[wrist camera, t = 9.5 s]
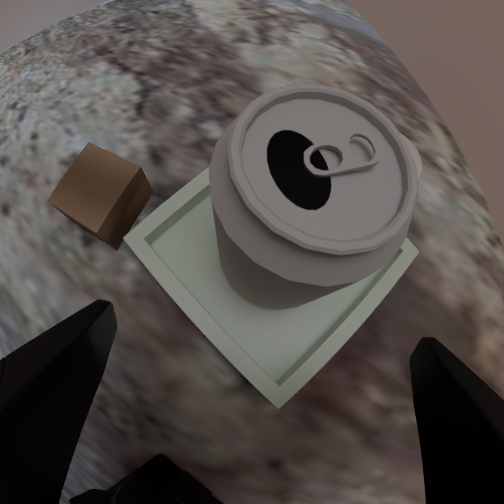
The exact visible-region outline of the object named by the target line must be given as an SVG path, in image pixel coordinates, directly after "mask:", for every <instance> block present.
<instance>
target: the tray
mask: <svg viewBox="0 0 504 504" xmlns="http://www.w3.org/2000/svg"><path fill="white" fill-rule="evenodd" d="M208 171H209V167H208V168H207V169H206V170H204V171H203V172H202V173H200V174H199V175H198V176H197V177H195V178H194V179H193V180H191V181H190V182H189V183H188V184H186V185H185V186H184V187H183V188H181V189H180V190H179V191H178V192H176V193H175V194H174V195H173V196H171V197H170V198H169V199H168V200H167V201H165V202H164V203H163V204H162V205H160V206H159V207H158V208H157V209H156V210H155V211H153V212H152V213H151V214H150V215H149V216H147V217H146V218H145V219H144V220H143V221H142V222H140V223H139V224H138V225H137V226H136V227H135V228H134V229H132V230H131V231H130V232H129V233H128V234H127V235H126V236H124V237H123V239H124V240H125V241H126V243H127V244H128V245H129V246H130V248H131V249H132V250H133V252H134V253H135V254H136V255H137V257H138V258H139V259H140V260H141V262H142V263H143V264H144V265H145V267H146V268H147V269H148V270H149V271H150V273H151V274H152V275H153V276H154V278H155V279H156V280H157V281H158V282H159V284H160V285H161V286H162V287H163V288H164V290H165V291H166V292H167V293H168V294H169V295H170V297H171V298H172V299H173V300H174V301H175V302H176V304H177V305H178V306H179V307H180V308H181V309H182V310H183V312H184V313H185V314H186V315H187V316H188V317H189V318H190V319H191V321H192V322H193V323H194V324H195V325H196V326H197V327H198V328H199V329H200V331H201V332H202V333H203V334H204V335H205V336H206V337H207V338H208V339H209V340H210V341H211V342H212V344H213V345H214V346H215V347H216V348H217V349H218V350H219V351H220V352H221V353H222V354H223V355H224V356H225V357H226V358H227V359H228V360H229V361H230V362H231V363H232V364H233V366H234V367H235V368H236V369H237V370H238V371H239V372H240V373H241V374H242V375H243V376H244V377H245V378H246V379H247V380H248V381H249V382H250V383H251V384H252V385H253V386H254V387H255V388H256V389H258V390H259V391H260V392H261V393H262V394H263V395H264V396H265V397H266V398H267V399H268V400H269V401H270V402H271V403H272V404H273V405H274V406H275V407H276V408H277V409H280V408H281V407H282V406H283V405H284V404H285V403H286V402H287V401H288V400H289V399H290V398H291V397H293V396H294V395H295V394H296V393H297V392H298V391H299V390H300V389H301V388H302V387H303V386H304V385H305V384H306V383H307V382H308V381H309V380H310V379H311V378H312V377H313V376H314V375H315V374H316V373H317V372H318V371H319V370H320V369H321V368H322V367H323V366H324V365H325V364H326V363H327V362H328V361H329V360H330V359H331V358H332V357H333V356H334V355H335V353H336V352H337V351H338V350H339V349H340V348H341V347H342V346H343V345H344V344H345V343H346V342H347V340H348V339H349V338H350V337H351V336H352V335H353V334H354V333H355V332H356V330H357V329H358V328H359V327H360V326H361V325H362V324H363V322H364V321H365V320H366V319H367V318H368V317H369V315H370V314H371V313H372V312H373V311H374V309H375V308H376V307H377V306H378V305H379V303H380V302H381V301H382V300H383V299H384V297H385V296H386V295H387V294H388V292H389V291H390V290H391V289H392V287H393V286H394V285H395V284H396V282H397V281H398V280H399V278H400V277H401V276H402V274H403V273H404V272H405V271H406V269H407V268H408V267H409V265H410V264H411V262H412V261H413V260H414V258H415V257H416V256H417V254H418V253H419V251H418V250H417V249H416V247H415V246H414V245H413V244H412V243H411V242H410V240H409V239H408V238H407V237H406V239H405V242H404V243H403V245H402V246H401V247H400V249H399V250H398V251H397V252H396V254H395V255H394V256H393V258H392V259H391V260H390V262H389V263H388V264H387V265H386V266H384V267H383V268H381V269H379V270H378V271H376V272H374V273H373V274H371V275H369V276H368V277H366V278H364V279H363V280H361V281H359V282H356V283H354V284H352V285H349V286H347V287H345V288H342V289H340V290H338V291H335V292H333V293H331V294H328V295H326V296H323V297H321V298H319V299H316V300H314V301H311V302H309V303H306V304H304V305H301V306H299V307H293V308H287V309H281V310H278V309H272V308H266V307H260V306H258V305H256V304H254V303H252V302H251V301H249V300H247V299H245V298H243V297H242V296H241V295H240V294H239V293H238V292H237V291H236V290H235V289H234V288H233V287H232V286H231V285H230V284H229V282H228V280H227V278H226V276H225V274H224V272H223V270H222V268H221V265H220V258H219V251H218V244H217V237H216V230H215V223H214V216H213V209H212V201H211V191H210V182H209V172H208Z"/></svg>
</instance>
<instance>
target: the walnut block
mask: <svg viewBox="0 0 504 504" xmlns="http://www.w3.org/2000/svg"><path fill="white" fill-rule="evenodd" d="M153 193H154V192H153V190H152V188H151V186H150V184H149V182H148V180H147V178H146V176H145V174H144V172H143V170H142V168H141V166H139V165H136V164H134V163H132V162H130V161H128V160H126V159H124V158H122V157H119V156H117V155H115V154H113V153H111V152H109V151H107V150H104V149H102V148H100V147H98V146H96V145H94V144H91V143H88V144H87V145H86V146H85V148H84V149H83V150H82V152H81V153H80V154H79V156H78V157H77V158H76V160H75V161H74V162H73V164H72V165H71V167H70V168H69V169H68V171H67V172H66V174H65V175H64V176H63V178H62V179H61V181H60V182H59V184H58V185H57V187H56V188H55V190H54V191H53V193H52V194H51V196H50V197H49V199H48V202H49V203H50V204H52V205H53V206H54V207H55V208H57V209H58V210H59V211H60V212H61V213H63V214H64V215H65V216H66V217H68V218H69V219H70V220H71V221H73V222H74V223H76V224H77V225H79V226H80V227H82V228H84V229H85V230H87V231H88V232H90V233H91V234H93V235H94V236H96V237H97V238H99V239H101V240H102V241H104V242H105V243H107V244H109V245H110V246H112V247H113V248H115V249H117V250H118V248H119V247H120V245H121V243H122V242H123V240H124V239H123V237H124V236H126V235H127V233H128V232H129V230H130V228H131V227H132V225H133V224H134V222H135V220H136V219H137V217H138V216H139V214H140V213H141V211H142V210H143V208H144V206H145V205H146V203H147V202H148V200H149V199H150V197H151V196H152V194H153Z"/></svg>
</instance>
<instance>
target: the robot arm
mask: <svg viewBox="0 0 504 504" xmlns="http://www.w3.org/2000/svg"><path fill="white" fill-rule="evenodd" d="M116 330H117V321H116V316H115V312H114V307H113V304H112V303H111V302H110V301H106V300H101V299H99V300H96V301H95V302H93V303H91V304H90V305H88V306H86V307H84V308H83V309H81V310H79V311H78V312H76V313H74V314H73V315H71V316H70V317H68V318H66V319H65V320H63V321H61V322H60V323H58V324H56V325H55V326H53V327H52V328H50V329H48V330H47V331H45V332H43V333H42V334H40V335H39V336H37V337H35V338H34V339H32V340H31V341H29V342H27V343H26V344H24V345H23V346H21V347H20V348H18V349H16V350H15V351H13V352H12V353H10V354H9V355H7V356H6V358H5V357H4V358H2V359H1V360H0V504H59V500H60V497H61V493H62V489H63V486H64V482H65V479H66V476H67V473H68V469H69V466H70V463H71V460H72V457H73V454H74V451H75V448H76V445H77V442H78V439H79V437H80V434H81V431H82V428H83V425H84V423H85V420H86V417H87V415H88V412H89V409H90V407H91V404H92V402H93V399H94V396H95V394H96V391H97V389H98V386H99V384H100V381H101V379H102V376H103V373H104V370H105V367H106V363H107V360H108V357H109V353H110V350H111V347H112V343H113V340H114V337H115V334H116ZM409 363H410V372H411V382H412V392H413V402H414V410H415V416H416V421H417V428H418V434H419V441H420V448H421V456H422V464H423V474H424V484H425V497H426V504H504V400H503V399H502V398H501V397H500V396H499V395H498V394H497V393H495V392H494V391H493V390H492V389H491V388H490V387H489V386H488V385H487V384H486V383H485V382H484V381H483V380H482V379H480V378H479V377H478V376H477V375H476V374H475V373H474V372H473V371H472V370H471V369H470V368H468V367H467V366H466V365H465V364H464V363H463V362H462V361H461V360H460V359H458V358H457V357H456V356H455V355H454V354H453V353H452V352H451V351H449V350H448V349H447V348H446V347H445V346H444V345H443V344H441V343H440V342H439V341H438V340H437V339H436V338H434V337H423V338H421V339H420V341H419V342H418V344H417V346H416V347H415V349H414V351H413V352H412V354H411V356H410V361H409ZM158 459H162V460H163V461H164V463H160V462H159V461H158ZM69 503H70V504H223V503H222V502H220V501H219V500H218V499H216V498H215V497H214V496H212V492H211V491H210V490H208V489H207V488H206V487H205V486H203V485H202V484H201V483H200V482H198V481H197V480H196V479H195V478H194V477H192V476H191V475H190V474H189V473H188V472H186V471H182V470H181V469H180V468H179V467H177V466H176V465H175V464H174V463H173V462H172V461H171V460H170V459H169V458H168V457H167V456H165V455H163V454H157V455H156V456H154V457H153V458H152V459H150V460H149V461H147V462H146V463H145V464H143V465H142V466H141V467H139V468H138V469H136V470H135V471H134V472H132V473H131V474H129V475H128V476H126V477H125V478H123V479H122V480H121V481H119V482H118V483H116V484H115V485H113V486H112V487H110V488H109V489H108V490H107V491H104V490H99V489H91V490H89V491H87V492H84V493H82V494H80V495H78V496H75V497H73V498H71V499H69Z"/></svg>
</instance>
